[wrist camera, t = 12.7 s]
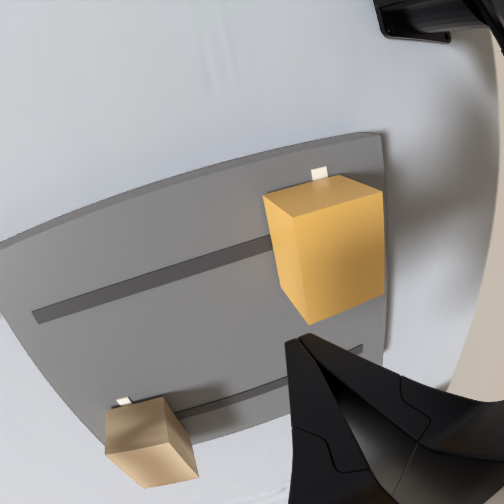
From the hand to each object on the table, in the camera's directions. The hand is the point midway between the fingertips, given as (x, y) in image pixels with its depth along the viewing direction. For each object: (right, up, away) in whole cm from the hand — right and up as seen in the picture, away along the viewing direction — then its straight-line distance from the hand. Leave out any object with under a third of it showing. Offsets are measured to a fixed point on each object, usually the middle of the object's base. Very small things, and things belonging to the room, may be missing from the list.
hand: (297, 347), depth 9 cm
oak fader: (-8, -9, +9) cm, 15 cm away
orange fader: (+2, +4, +7) cm, 8 cm away
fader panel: (-4, -1, +10) cm, 11 cm away
